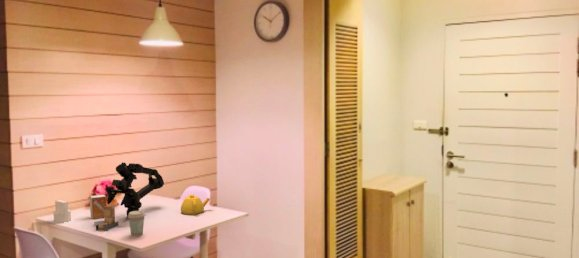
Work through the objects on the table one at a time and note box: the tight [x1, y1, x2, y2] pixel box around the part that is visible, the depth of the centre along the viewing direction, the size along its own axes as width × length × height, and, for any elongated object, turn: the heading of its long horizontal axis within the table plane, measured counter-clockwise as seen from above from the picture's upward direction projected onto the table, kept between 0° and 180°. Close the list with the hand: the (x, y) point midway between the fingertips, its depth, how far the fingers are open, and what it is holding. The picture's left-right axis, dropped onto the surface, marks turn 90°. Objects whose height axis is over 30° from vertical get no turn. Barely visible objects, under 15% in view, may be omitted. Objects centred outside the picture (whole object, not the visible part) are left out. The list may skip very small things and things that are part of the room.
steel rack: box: [95, 220, 120, 232], centre depth 260 cm, size 11×6×2 cm, turn 160°
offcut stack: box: [97, 223, 107, 232], centre depth 257 cm, size 4×3×4 cm
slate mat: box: [93, 220, 104, 227], centre depth 269 cm, size 7×7×1 cm
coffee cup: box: [127, 210, 146, 237], centre depth 248 cm, size 9×9×12 cm
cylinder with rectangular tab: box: [53, 199, 72, 224], centre depth 273 cm, size 9×9×12 cm
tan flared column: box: [103, 204, 116, 225], centre depth 262 cm, size 4×4×12 cm
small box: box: [89, 194, 107, 220], centre depth 281 cm, size 8×6×13 cm
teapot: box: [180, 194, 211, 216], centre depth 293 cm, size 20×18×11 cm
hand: (114, 204), depth 265 cm, fingers open, 9 cm apart
